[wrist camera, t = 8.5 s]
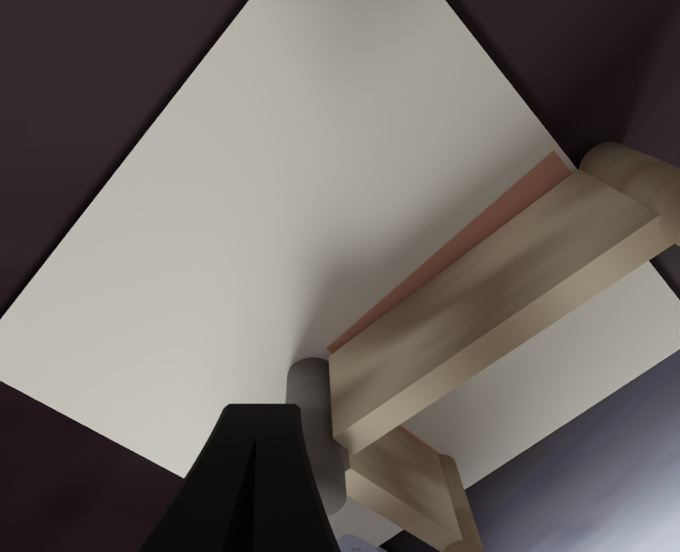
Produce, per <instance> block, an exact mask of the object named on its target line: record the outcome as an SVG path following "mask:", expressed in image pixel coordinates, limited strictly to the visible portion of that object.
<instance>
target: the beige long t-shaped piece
mask: <svg viewBox="0 0 680 552" xmlns="http://www.w3.org/2000/svg"><path fill="white" fill-rule="evenodd" d="M674 243H675V244H676V245H678V246H680V168H679V167H676V166H674V165H671V164H669V163H666V162H664V161H661V160H659V159H656V158H654V157H651V156H649V155H647V154H644V153H642V152H639V151H637V150H634V149H632V148H629V147H627V146H624V145H622V144H619V143H616V142H605V143H601V144H599V145H597V146H595V147H594V148H592V149H591V150H590V151H589V152H588V153H587V154H586V155H585V156H584V158H583V159H582V161H581V163H580V166H579V169H578V170H577V171H575V172H574V173H573V174H571V175H570V176H569V177H567V178H566V179H565V180H563V181H562V182H561V183H559V184H558V185H557V186H555V187H554V188H553V189H551V190H550V191H549V192H547V193H546V194H545V195H543V196H542V197H541V198H539V199H538V200H537V201H535V202H534V203H533V204H531V205H530V206H529V207H527V208H526V209H525V210H523V211H522V212H521V213H519V214H518V215H517V216H515V217H514V218H513V219H511V220H510V221H509V222H507V223H506V224H505V225H503V226H502V227H501V228H499V229H498V230H497V231H495V232H494V233H493V234H491V235H490V236H489V237H487V238H486V239H485V240H483V241H482V242H481V243H479V244H478V245H477V246H475V247H474V248H473V249H471V250H470V251H469V252H467V253H466V254H465V255H463V256H462V257H461V258H459V259H458V260H457V261H455V262H454V263H453V264H451V265H450V266H449V267H447V268H446V269H445V270H443V271H442V272H441V273H439V274H438V275H437V276H435V277H434V278H433V279H431V280H430V281H429V282H427V283H426V284H425V285H423V286H422V287H421V288H419V289H418V290H417V291H415V292H414V293H413V294H411V295H410V296H409V297H407V298H406V299H405V300H403V301H402V302H401V303H399V304H398V305H397V306H395V307H394V308H393V309H391V310H390V311H389V312H387V313H386V314H385V315H383V316H382V317H381V318H379V319H378V320H377V321H375V322H374V323H373V324H371V325H370V326H369V327H367V328H366V329H365V330H363V331H362V332H361V333H359V334H358V335H357V336H355V337H354V338H353V339H351V340H350V341H349V342H347V343H346V344H345V345H343V346H342V347H341V348H339V349H338V350H337V351H335V352H334V353H333V354H331V355H330V356H329V374H330V393H331V411H332V430H333V439H334V440H336V441H337V442H338V443H340V444H341V445H342V446H344V447H345V448H346V449H348V450H349V451H350V452H351V453H353V454H356V453H357V452H359V451H361V450H362V449H364V448H365V447H367V446H368V445H370V444H371V443H373V442H374V441H376V440H377V439H379V438H380V437H382V436H383V435H385V434H386V433H388V432H389V431H391V430H392V429H394V428H395V427H397V426H398V425H400V424H401V423H403V422H404V421H406V420H408V419H409V418H411V417H412V416H414V415H415V414H417V413H418V412H420V411H421V410H423V409H424V408H426V407H427V406H429V405H430V404H432V403H433V402H435V401H436V400H438V399H439V398H441V397H442V396H444V395H445V394H447V393H448V392H450V391H452V390H453V389H455V388H456V387H458V386H459V385H461V384H462V383H464V382H465V381H467V380H468V379H470V378H471V377H473V376H474V375H476V374H477V373H479V372H480V371H482V370H483V369H485V368H486V367H488V366H489V365H491V364H492V363H494V362H495V361H497V360H499V359H500V358H502V357H503V356H505V355H506V354H508V353H509V352H511V351H512V350H514V349H515V348H517V347H518V346H520V345H521V344H523V343H524V342H526V341H527V340H529V339H530V338H532V337H533V336H535V335H536V334H538V333H539V332H541V331H542V330H544V329H546V328H547V327H549V326H550V325H552V324H553V323H555V322H556V321H558V320H559V319H561V318H562V317H564V316H565V315H567V314H568V313H570V312H571V311H573V310H574V309H576V308H577V307H579V306H580V305H582V304H583V303H585V302H586V301H588V300H590V299H591V298H593V297H594V296H596V295H597V294H599V293H600V292H602V291H603V290H605V289H606V288H608V287H609V286H611V285H612V284H614V283H615V282H617V281H618V280H620V279H621V278H623V277H624V276H626V275H627V274H629V273H630V272H632V271H633V270H635V269H637V268H638V267H640V266H641V265H643V264H644V263H646V262H647V261H649V260H650V259H652V258H653V257H655V256H656V255H658V254H659V253H661V252H662V251H664V250H665V249H667V248H668V247H670V246H671V245H673V244H674Z"/></svg>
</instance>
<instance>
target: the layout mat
mask: <svg viewBox="0 0 680 552" xmlns="http://www.w3.org/2000/svg"><path fill="white" fill-rule="evenodd" d="M575 171H577V168H576V167H575V166H574V164H573V163H572V162H571V161H570V159H569V158H568V157H567V155H566V154H565V153H564V152H563V150H562V149H561V148H560V147H559V145H558V144H557V143H556V141H555V140H554V139H553V138H552V136H551V135H550V134H549V132H548V131H547V130H546V129H545V127H544V126H543V125H542V124H541V122H540V121H539V120H538V118H537V117H536V116H535V115H534V113H533V112H532V111H531V109H530V108H529V107H528V106H527V104H526V103H525V102H524V100H523V99H522V98H521V97H520V95H519V94H518V93H517V92H516V90H515V89H514V88H513V86H512V85H511V84H510V83H509V81H508V80H507V79H506V77H505V76H504V75H503V74H502V72H501V71H500V70H499V68H498V67H497V66H496V65H495V63H494V62H493V61H492V60H491V58H490V57H489V56H488V54H487V53H486V52H485V51H484V49H483V48H482V47H481V45H480V44H479V43H478V42H477V40H476V39H475V38H474V37H473V35H472V34H471V33H470V31H469V30H468V29H467V28H466V26H465V25H464V24H463V22H462V21H461V20H460V19H459V17H458V16H457V15H456V13H455V12H454V11H453V10H452V8H451V7H450V6H449V5H448V3H447V2H446V1H445V0H249V1H248V2H247V4H246V5H245V6H244V7H243V9H242V10H241V11H240V13H239V14H238V15H237V16H236V18H235V19H234V20H233V21H232V23H231V24H230V25H229V27H228V28H227V29H226V30H225V32H224V33H223V34H222V36H221V37H220V38H219V39H218V41H217V42H216V43H215V45H214V46H213V47H212V48H211V50H210V51H209V52H208V54H207V55H206V56H205V57H204V59H203V60H202V61H201V63H200V64H199V65H198V66H197V68H196V69H195V70H194V72H193V73H192V74H191V75H190V77H189V78H188V79H187V81H186V82H185V83H184V84H183V86H182V87H181V88H180V90H179V91H178V92H177V93H176V95H175V96H174V97H173V99H172V100H171V101H170V102H169V104H168V105H167V106H166V108H165V109H164V110H163V111H162V113H161V114H160V115H159V117H158V118H157V119H156V120H155V122H154V123H153V124H152V126H151V127H150V128H149V129H148V131H147V132H146V133H145V135H144V136H143V137H142V138H141V140H140V141H139V142H138V144H137V145H136V146H135V147H134V149H133V150H132V151H131V153H130V154H129V155H128V156H127V158H126V159H125V160H124V162H123V163H122V164H121V165H120V167H119V168H118V169H117V171H116V172H115V173H114V174H113V176H112V177H111V178H110V180H109V181H108V182H107V183H106V185H105V186H104V187H103V188H102V190H101V191H100V192H99V194H98V195H97V196H96V197H95V199H94V200H93V201H92V203H91V204H90V205H89V206H88V208H87V209H86V210H85V212H84V213H83V214H82V215H81V217H80V218H79V219H78V221H77V222H76V223H75V224H74V226H73V227H72V228H71V230H70V231H69V232H68V233H67V235H66V236H65V237H64V239H63V240H62V241H61V242H60V244H59V245H58V246H57V248H56V249H55V250H54V251H53V253H52V254H51V255H50V257H49V258H48V259H47V260H46V262H45V263H44V264H43V266H42V267H41V268H40V269H39V271H38V272H37V273H36V275H35V276H34V277H33V278H32V280H31V281H30V282H29V284H28V285H27V286H26V287H25V289H24V290H23V291H22V293H21V294H20V295H19V296H18V298H17V299H16V300H15V302H14V303H13V304H12V305H11V307H10V308H9V309H8V311H7V312H6V313H5V314H4V316H3V317H2V318H1V320H0V381H2V382H4V383H6V384H8V385H10V386H12V387H14V388H15V389H17V390H19V391H21V392H23V393H25V394H27V395H29V396H30V397H32V398H34V399H36V400H38V401H40V402H42V403H44V404H45V405H47V406H49V407H51V408H53V409H55V410H57V411H59V412H61V413H62V414H64V415H66V416H68V417H70V418H72V419H74V420H76V421H77V422H79V423H81V424H83V425H85V426H87V427H89V428H91V429H93V430H94V431H96V432H98V433H100V434H102V435H104V436H106V437H108V438H109V439H111V440H113V441H115V442H117V443H119V444H121V445H123V446H124V447H126V448H128V449H130V450H132V451H134V452H136V453H138V454H140V455H141V456H143V457H145V458H147V459H149V460H151V461H153V462H155V463H156V464H158V465H160V466H162V467H164V468H166V469H168V470H170V471H171V472H173V473H175V474H177V475H179V476H181V477H183V478H185V476H186V475H187V473H188V472H189V470H190V469H191V467H192V465H193V464H194V462H195V460H196V459H197V457H198V455H199V454H200V452H201V450H202V448H203V447H204V445H205V443H206V441H207V440H208V438H209V436H210V434H211V432H212V430H213V429H214V427H215V425H216V423H217V421H218V419H219V417H220V415H221V412H222V410H223V408H224V407H226V406H227V405H228V404H285V401H286V386H287V374H288V371H289V369H290V367H291V366H292V365H293V364H294V363H296V362H297V361H299V360H301V359H304V358H309V357H316V358H322V359H325V360H327V361H328V362H329V356H330V355H331V354H333V353H334V352H335V351H337V350H338V349H339V348H341V347H342V346H343V345H345V344H346V343H347V342H349V341H350V340H351V339H353V338H354V337H355V336H357V335H358V334H359V333H361V332H362V331H363V330H365V329H366V328H367V327H369V326H370V325H371V324H373V323H374V322H375V321H377V320H378V319H379V318H381V317H382V316H383V315H385V314H386V313H387V312H389V311H390V310H391V309H393V308H394V307H395V306H397V305H398V304H399V303H401V302H402V301H403V300H405V299H406V298H407V297H409V296H410V295H411V294H413V293H414V292H415V291H417V290H418V289H419V288H421V287H422V286H423V285H425V284H426V283H427V282H429V281H430V280H431V279H433V278H434V277H435V276H437V275H438V274H439V273H441V272H442V271H443V270H445V269H446V268H447V267H449V266H450V265H451V264H453V263H454V262H455V261H457V260H458V259H459V258H461V257H462V256H463V255H465V254H466V253H467V252H469V251H470V250H471V249H473V248H474V247H475V246H477V245H478V244H479V243H481V242H482V241H483V240H485V239H486V238H487V237H489V236H490V235H491V234H493V233H494V232H495V231H497V230H498V229H499V228H501V227H502V226H503V225H505V224H506V223H507V222H509V221H510V220H511V219H513V218H514V217H515V216H517V215H518V214H519V213H521V212H522V211H523V210H525V209H526V208H527V207H529V206H530V205H531V204H533V203H534V202H535V201H537V200H538V199H539V198H541V197H542V196H543V195H545V194H546V193H547V192H549V191H550V190H551V189H553V188H554V187H555V186H557V185H558V184H559V183H561V182H562V181H563V180H565V179H566V178H567V177H569V176H570V175H571V174H573V173H574V172H575ZM679 349H680V300H679V299H678V298H677V296H676V295H675V294H674V292H673V291H672V290H671V289H670V287H669V286H668V285H667V283H666V282H665V281H664V280H663V278H662V277H661V276H660V274H659V273H658V272H657V271H656V269H655V268H654V267H653V266H652V264H651V263H650V262H649V261H647V262H646V263H644V264H643V265H641V266H640V267H638V268H637V269H635V270H633V271H632V272H630V273H629V274H627V275H626V276H624V277H623V278H621V279H620V280H618V281H617V282H615V283H614V284H612V285H611V286H609V287H608V288H606V289H605V290H603V291H602V292H600V293H599V294H597V295H596V296H594V297H593V298H591V299H590V300H588V301H586V302H585V303H583V304H582V305H580V306H579V307H577V308H576V309H574V310H573V311H571V312H570V313H568V314H567V315H565V316H564V317H562V318H561V319H559V320H558V321H556V322H555V323H553V324H552V325H550V326H549V327H547V328H546V329H544V330H542V331H541V332H539V333H538V334H536V335H535V336H533V337H532V338H530V339H529V340H527V341H526V342H524V343H523V344H521V345H520V346H518V347H517V348H515V349H514V350H512V351H511V352H509V353H508V354H506V355H505V356H503V357H502V358H500V359H499V360H497V361H495V362H494V363H492V364H491V365H489V366H488V367H486V368H485V369H483V370H482V371H480V372H479V373H477V374H476V375H474V376H473V377H471V378H470V379H468V380H467V381H465V382H464V383H462V384H461V385H459V386H458V387H456V388H455V389H453V390H452V391H450V392H448V393H447V394H445V395H444V396H442V397H441V398H439V399H438V400H436V401H435V402H433V403H432V404H430V405H429V406H427V407H426V408H424V409H423V410H421V411H420V412H418V413H417V414H415V415H414V416H412V417H411V418H409V419H408V420H406V421H404V422H403V423H401V424H400V425H398V427H399V428H401V429H402V430H404V431H405V432H406V433H408V434H409V435H411V436H412V437H413V438H415V439H416V440H417V441H419V442H420V443H422V444H423V445H424V446H426V447H427V448H429V449H430V450H431V451H433V452H434V453H435V454H437V455H440V454H445V455H449V456H451V457H452V458H453V459H454V460H455V463H456V466H457V469H458V472H459V475H460V478H461V481H462V484H463V487H464V490H465V489H467V488H468V487H470V486H471V485H473V484H474V483H476V482H477V481H479V480H480V479H482V478H483V477H485V476H486V475H488V474H489V473H491V472H492V471H494V470H496V469H497V468H499V467H500V466H502V465H503V464H505V463H506V462H508V461H509V460H511V459H512V458H514V457H515V456H517V455H518V454H520V453H522V452H523V451H525V450H526V449H528V448H529V447H531V446H532V445H534V444H535V443H537V442H538V441H540V440H541V439H543V438H544V437H546V436H547V435H549V434H551V433H552V432H554V431H555V430H557V429H558V428H560V427H561V426H563V425H564V424H566V423H567V422H569V421H570V420H572V419H573V418H575V417H576V416H578V415H580V414H581V413H583V412H584V411H586V410H587V409H589V408H590V407H592V406H593V405H595V404H596V403H598V402H599V401H601V400H602V399H604V398H606V397H607V396H609V395H610V394H612V393H613V392H615V391H616V390H618V389H619V388H621V387H622V386H624V385H625V384H627V383H628V382H630V381H631V380H633V379H635V378H636V377H638V376H639V375H641V374H642V373H644V372H645V371H647V370H648V369H650V368H651V367H653V366H654V365H656V364H657V363H659V362H661V361H662V360H664V359H665V358H667V357H668V356H670V355H671V354H673V353H674V352H676V351H677V350H679ZM328 520H329V522H330V525H331V528H332V530H333V533H334V535H335V538H336V540H337V539H339V538H340V537H342V536H344V535H354V536H357V537H358V538H360V539H362V540H364V541H365V542H367V543H369V544H371V545H372V546H374V547H378V546H379V545H381V544H383V543H384V542H386V541H387V540H389V539H390V538H392V537H393V536H395V535H396V534H398V533H399V532H401V531H402V530H404V529H403V528H401V527H399V526H398V525H396V524H394V523H393V522H391V521H389V520H388V519H386V518H384V517H383V516H381V515H379V514H378V513H376V512H375V511H373V510H371V509H370V508H368V507H366V506H365V505H363V504H361V503H360V502H358V501H356V500H355V499H353V498H352V497H350V496H348V495H347V499H346V502H345V504H344V506H343V507H342V508H341V509H340V510H339V511H338V512H336V513H335V514H333V515H331V516H328ZM352 547H353V548H357V547H359V546H358V545H354V546H352Z"/></svg>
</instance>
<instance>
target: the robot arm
mask: <svg viewBox="0 0 680 552" xmlns="http://www.w3.org/2000/svg"><path fill="white" fill-rule="evenodd" d="M354 545H358V546H359V547H357V548H353V547H352V546H354ZM134 552H388V551H386V550H384V549H382V548H381V547H379V546H378V547H374V546H372V545H371V544H369V543H367V542H365V541H364V540H362V539H360V538H358V537H357V536H354V535H344V536H342V537H340V538H339V539H337V540H336V538H335V535H334V533H333V530H332V528H331V525H330V522H329V520H328V517H327V514H326V512H325V509H324V506H323V503H322V500H321V497H320V494H319V491H318V488H317V485H316V482H315V479H314V475H313V472H312V468H311V465H310V461H309V457H308V453H307V449H306V445H305V440H304V435H303V430H302V422H301V408H300V407H298V406H297V405H296V404H228V405H227V406H226V407H224V408H223V410H222V412H221V415H220V417H219V419H218V421H217V423H216V425H215V427H214V429H213V430H212V432H211V434H210V436H209V438H208V440H207V441H206V443H205V445H204V447H203V448H202V450H201V452H200V454H199V455H198V457H197V459H196V460H195V462H194V464H193V465H192V467H191V469H190V470H189V472H188V473H187V475H186V476H185V478H184V480H183V481H182V483H181V484H180V486H179V487H178V489H177V491H176V492H175V494H174V495H173V497H172V498H171V500H170V501H169V503H168V505H167V506H166V508H165V509H164V510H163V512H162V513H161V515H160V516H159V518H158V519H157V520H156V522H155V523H154V525H153V526H152V527H151V529H150V530H149V532H148V533H147V535H146V536H145V537H144V539H143V540H142V542H141V543H140V544H139V546H138V547H137V549H136V550H135V551H134Z"/></svg>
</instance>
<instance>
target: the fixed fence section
mask: <svg viewBox="0 0 680 552" xmlns="http://www.w3.org/2000/svg"><path fill="white" fill-rule="evenodd" d="M285 404H296V405H297V406H298V407H300V408H301V422H302V430H303V435H304V440H305V445H306V449H307V453H308V457H309V461H310V465H311V468H312V472H313V475H314V479H315V482H316V485H317V488H318V491H319V494H320V497H321V500H322V503H323V506H324V509H325V512H326V514H327V517H328V516H331V515H333V514H335V513H336V512H338V511H339V510H340V509H341V508H342V507H343V506H344V504H345V502H346V499H347V495H348V496H350V497H352V498H353V499H355V500H356V501H358V502H360V503H361V504H363V505H365V506H366V507H368V508H370V509H371V510H373V511H375V512H376V513H378V514H379V515H381V516H383V517H384V518H386V519H388V520H389V521H391V522H393V523H394V524H396V525H398V526H399V527H401V528H403V529H404V530H406V531H407V532H409V533H411V534H412V535H414V536H416V537H417V538H419V539H421V540H422V541H424V542H426V543H427V544H429V545H430V546H432V547H434V548H435V549H437V550H439V551H440V552H484V548H483V545H482V542H481V539H480V536H479V533H478V530H477V527H476V524H475V521H474V518H473V515H472V512H471V509H470V506H469V502H468V499H467V496H466V493H465V490H464V487H463V484H462V481H461V478H460V475H459V472H458V469H457V466H456V463H455V460H454V459H453V458H452V457H451V456H449V455H445V454H440V455H437V454H435V453H434V452H433V451H431V450H430V449H429V448H427V447H426V446H424V445H423V444H422V443H420V442H419V441H417V440H416V439H415V438H413V437H412V436H411V435H409V434H408V433H406V432H405V431H404V430H402V429H401V428H399V427H398V426H397V427H395V428H394V429H392V430H391V431H389V432H388V433H386V434H385V435H383V436H382V437H380V438H379V439H377V440H376V441H374V442H373V443H371V444H370V445H368V446H367V447H365V448H364V449H362V450H361V451H359V452H357V453H356V454H353V453H351V452H350V451H349V450H348V449H346V448H345V447H344V446H342V445H341V444H340V443H338V442H337V441H336V440H334V439H333V430H332V411H331V393H330V374H329V362H328V361H327V360H325V359H322V358H316V357H309V358H304V359H301V360H299V361H297V362H296V363H294V364H293V365H292V366H291V367H290V369H289V371H288V374H287V386H286V401H285Z"/></svg>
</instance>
